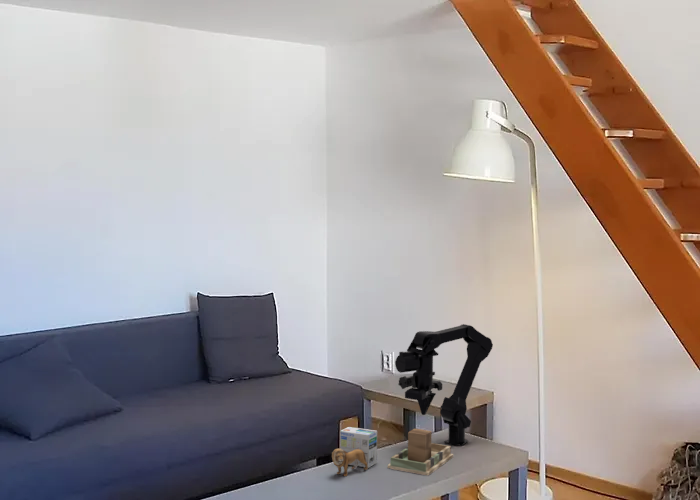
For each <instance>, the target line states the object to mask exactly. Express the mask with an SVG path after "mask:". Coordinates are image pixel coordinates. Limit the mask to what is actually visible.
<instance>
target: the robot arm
mask: <svg viewBox="0 0 700 500" xmlns="http://www.w3.org/2000/svg"><path fill="white" fill-rule="evenodd" d="M461 339H463V341H464V342H465V343H466V344H467V345H466V354H467V356H466V357H467V358H466V361H465V363H464V366H463V367H462V370H461V372H460V375H459V377H458V381H457V383H456V385H455V388H454V390H453V393H452V394H451V395H450V396H449V397H446V396H445V397H444V399H443V402H442V404H441V405H440V407H439V408H440V412H439V413H440V416H441V418H442V421H443V424H446V425H448V433H447V434H448V436H447V439H446V440H445V441H444V443H445V444H449V445H455V446H464V445H465V444H466V443H468V442H469V439H466V429H467V428H470V427H471V423H472V420H471V419H470V418H469V417H468V416H467V415H466V413H467V410H468V409H467V398H468V395H469V393H470V390H471V388H472V385H473V383H474V381H475V378H476V375H477V373H478V370H479V368H480V366H481V363H482V362H483V361H484V360H485V359H486V358H488V357H489V355H490V353H491V351H492V349H493V341H492V339H491V338H490V337H487V336H486V335H484V334H483V333H481V332H480V331H479V330H477V329H476V328H475V327H474V326H472V325H470V324H464V323H463V324H460V325H458V326H454V327H449V328H446V329H441V330H438V331H429V330H428V331H427V330H426V331H425V330H423V331H417V332H416V333H415V335H414V337H413V339H412V341H411V342H410V344H409V346H408V348H407V349H406V351H399V353H398V356H396V359H395V362H394V363H395V368H396V370H397V372H398V373H401V374H402V373H408V372H413V373H412V375H411V376H406V375H404V376H401V377H399V379H398V386H400V387H401V390H406V388H407V390H406V391H405V392H404V398H405V399H406V400H407V399H410V400H413V401H414V400H416V401H417V402H418V406H419V410H420V413H421V415H422V416H425V415H427V412H428V410H429V408H430V406H431V404H432V401H433V399H434V398H435V396H436V395H437V394H436V393H435V392H433V389H437V391H442V390H443V383H442V382H441V380H433V379H434V376H435V375H436V371H434V357H436V356H439V352H438V351H436V350H435V349H437V348H439V347H440V346H441V345H443V344H446V343H449V342H453V341H456V340H461ZM408 388H409V389H408Z"/></svg>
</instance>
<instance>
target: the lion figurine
mask: <svg viewBox="0 0 700 500" xmlns="http://www.w3.org/2000/svg"><path fill="white" fill-rule="evenodd" d="M331 458H332V463H333V464H334V465H335V466H336V467H337V472H336V475H340V474H341V473H342V468H343V477H347V476H348V467H349V466H348V464H351V463H353V462H355V465H353V466H352V467H351V469H352V470H356V468H357V467H358V466H357V465H358V460H359V461H360V462H361V463H362V464H364V465H365V467H363V471H367V470H368V469H369V468H368V466H367V462H366V458H365V454H364V452H363V451H362V450H360V449H355V450H353V451H351V452H346V451H344V450H342V449H340V447H339V448H335V449H334V450H333V451H332V452H331Z"/></svg>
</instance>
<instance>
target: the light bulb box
mask: <svg viewBox="0 0 700 500" xmlns="http://www.w3.org/2000/svg"><path fill="white" fill-rule="evenodd" d="M339 448H340V449H342V450H344V451H346V452H351V451H353V450H355V449H360V450H362V451H363V452H364V454H365V458H366V462H367V466H368V469H369V468H371V467H372V466H374V465H376V464H377V463H378V430H374V429H367V428H360V427H351V426H348V427H346V428H345V427H344V429H341V430H340V431H339ZM348 465H350V466H354V465H355V462H353V463H351V464H348ZM357 467H360V468H361V467H362V468H364V467H365V465H364V464H362V463H361V462H360V461H359V460H358V465H357Z"/></svg>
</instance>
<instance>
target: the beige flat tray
mask: <svg viewBox="0 0 700 500" xmlns="http://www.w3.org/2000/svg"><path fill="white" fill-rule="evenodd" d="M451 448H452V446H451V445H445V444H440V443H433V442H431V458H430V459H428V460H427V461H425V462H424V463H423V462H418V461H412V460H408V446H407V447H405V448H404V449H403V450H401V451H399V452H398V453H396V454H394V455H393V456H391V457H390V460H389V461H390V462H389V463H388V464H387V469H389V468H390V469H391V470H395V471H400V472H407V473H412V474H417V475H423V476H428V477H429V476H430V475H432V474H433V473H435V471H437V470H438V469H439V468H441V467H442V466H443V465H445V464H446V463H448V462H449V461H451V459H453V458H454V453H451V452H452V449H451Z"/></svg>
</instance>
